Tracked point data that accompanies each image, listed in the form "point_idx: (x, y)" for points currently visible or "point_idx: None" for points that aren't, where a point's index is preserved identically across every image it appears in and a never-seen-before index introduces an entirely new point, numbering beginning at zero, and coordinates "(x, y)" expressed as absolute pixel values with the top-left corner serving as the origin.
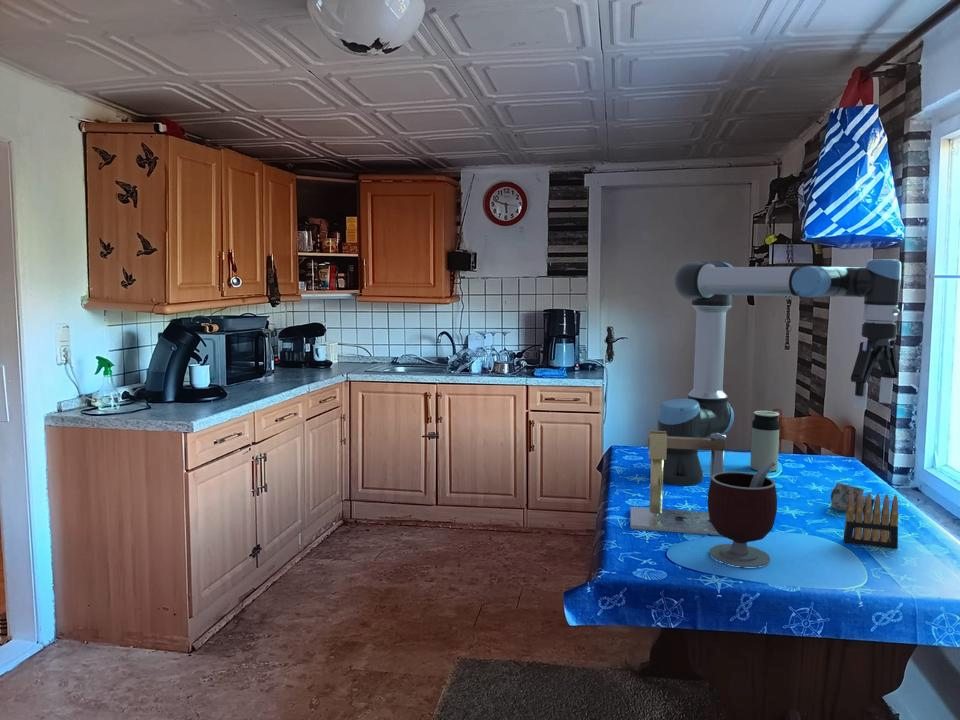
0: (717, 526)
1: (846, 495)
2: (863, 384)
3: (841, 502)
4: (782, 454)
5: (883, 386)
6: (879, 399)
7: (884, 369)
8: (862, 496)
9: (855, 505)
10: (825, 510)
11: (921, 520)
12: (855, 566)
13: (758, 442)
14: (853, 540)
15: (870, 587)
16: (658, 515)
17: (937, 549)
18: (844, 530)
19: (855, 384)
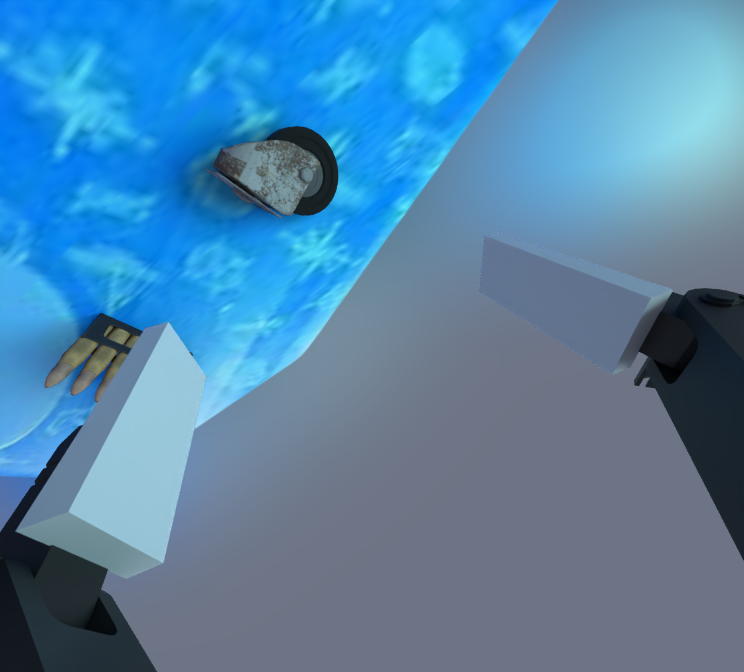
0: None
1: (238, 195)
2: (100, 558)
3: (230, 185)
4: None
5: (563, 291)
6: (494, 242)
7: (719, 401)
8: (282, 211)
9: (260, 206)
10: (203, 152)
11: (346, 283)
12: (36, 402)
13: None
14: (107, 335)
15: (9, 455)
16: None
17: (249, 375)
18: (92, 323)
19: (37, 499)
